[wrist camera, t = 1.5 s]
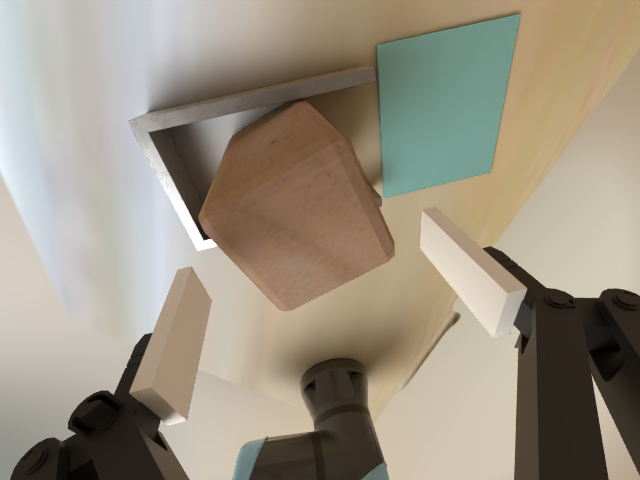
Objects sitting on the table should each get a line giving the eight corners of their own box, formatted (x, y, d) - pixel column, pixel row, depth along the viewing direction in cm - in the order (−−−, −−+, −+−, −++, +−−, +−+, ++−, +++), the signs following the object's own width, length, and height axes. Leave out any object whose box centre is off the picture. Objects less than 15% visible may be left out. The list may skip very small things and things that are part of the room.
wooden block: (301, 91, 30) (347, 129, 14) (339, 167, 36) (404, 260, 19) (226, 138, 32) (186, 224, 15) (274, 204, 37) (282, 321, 21)
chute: (369, 190, 38) (381, 206, 34) (205, 229, 37) (197, 250, 33) (359, 66, 30) (374, 67, 26) (146, 112, 29) (127, 121, 25)
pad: (488, 171, 40) (490, 172, 40) (383, 196, 39) (384, 198, 39) (517, 14, 30) (520, 13, 29) (376, 45, 29) (377, 44, 29)
